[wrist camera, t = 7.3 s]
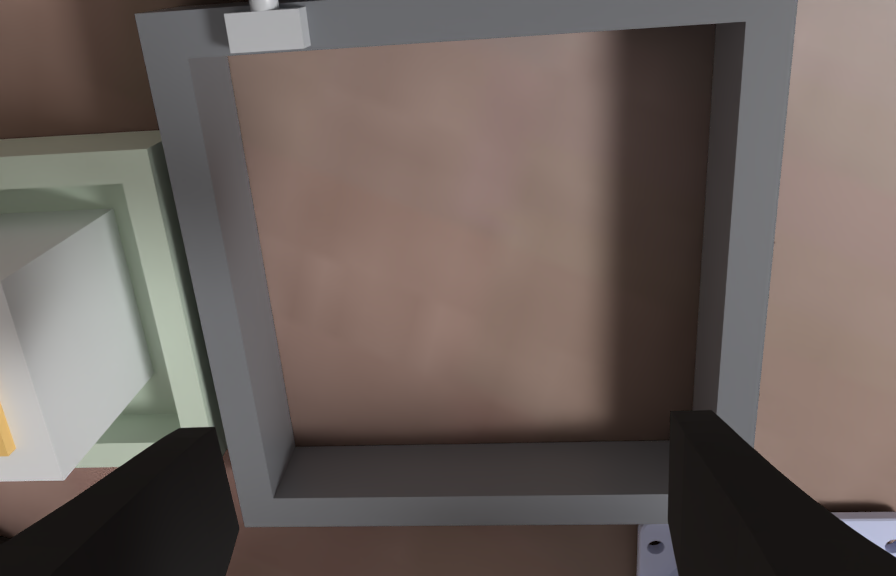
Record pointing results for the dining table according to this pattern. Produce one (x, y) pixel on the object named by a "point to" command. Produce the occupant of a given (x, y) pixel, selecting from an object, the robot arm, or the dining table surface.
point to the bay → (149, 263)
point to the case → (458, 465)
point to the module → (64, 339)
